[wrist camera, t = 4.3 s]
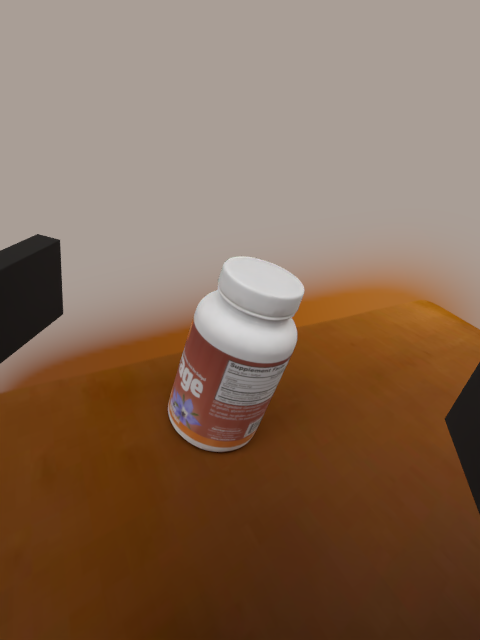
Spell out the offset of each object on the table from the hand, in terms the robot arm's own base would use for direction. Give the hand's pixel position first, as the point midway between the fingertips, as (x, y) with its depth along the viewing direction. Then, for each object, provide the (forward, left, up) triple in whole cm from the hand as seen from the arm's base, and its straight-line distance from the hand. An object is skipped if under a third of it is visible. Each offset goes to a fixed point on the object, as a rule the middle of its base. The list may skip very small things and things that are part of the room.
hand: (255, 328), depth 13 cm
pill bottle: (0, +9, -13) cm, 16 cm away
